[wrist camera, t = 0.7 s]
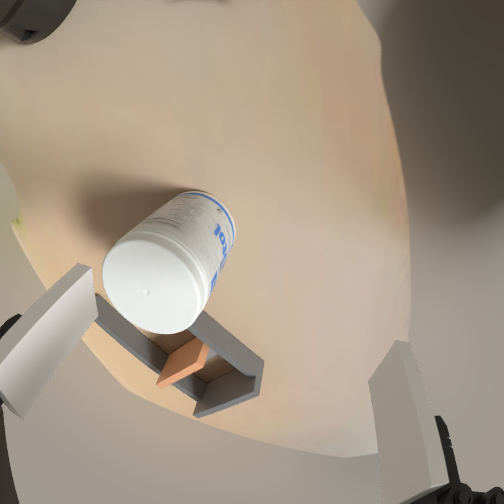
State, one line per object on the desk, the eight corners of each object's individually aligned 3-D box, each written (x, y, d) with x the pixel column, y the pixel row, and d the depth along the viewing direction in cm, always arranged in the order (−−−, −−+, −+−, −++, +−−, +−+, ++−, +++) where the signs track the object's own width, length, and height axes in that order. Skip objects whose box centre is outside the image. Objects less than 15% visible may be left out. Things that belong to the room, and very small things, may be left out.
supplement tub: (242, 257, 37) (215, 339, 24) (174, 263, 39) (123, 336, 26) (228, 182, 33) (184, 233, 20) (155, 194, 35) (84, 245, 22)
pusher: (169, 354, 47) (155, 384, 41) (209, 328, 43) (196, 362, 37) (187, 368, 48) (176, 398, 42) (229, 344, 44) (219, 379, 38)
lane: (95, 297, 44) (74, 322, 38) (136, 247, 38) (110, 273, 32) (207, 388, 51) (198, 418, 44) (264, 361, 45) (259, 395, 39)
